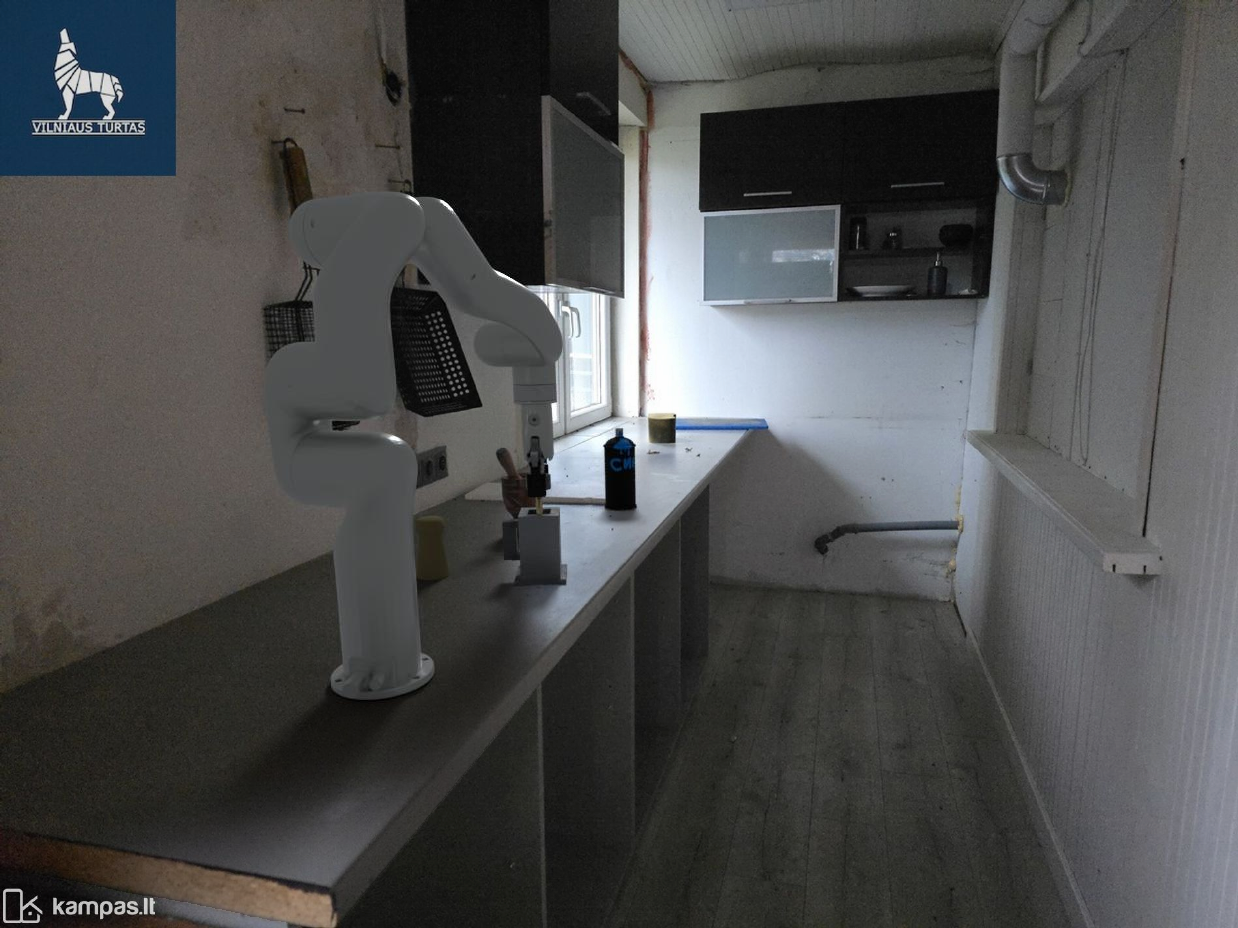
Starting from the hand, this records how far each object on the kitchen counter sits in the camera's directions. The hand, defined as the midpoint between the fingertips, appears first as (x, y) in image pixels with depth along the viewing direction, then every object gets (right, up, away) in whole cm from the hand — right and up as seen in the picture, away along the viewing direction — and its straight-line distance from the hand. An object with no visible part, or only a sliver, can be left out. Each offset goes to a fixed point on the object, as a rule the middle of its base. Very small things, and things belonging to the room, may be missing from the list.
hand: (538, 491), depth 135 cm
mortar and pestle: (-7, -11, +32) cm, 34 cm away
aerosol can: (+15, -6, +58) cm, 60 cm away
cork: (-20, -16, +5) cm, 26 cm away
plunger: (0, -12, +2) cm, 12 cm away
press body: (-1, -16, +3) cm, 16 cm away
